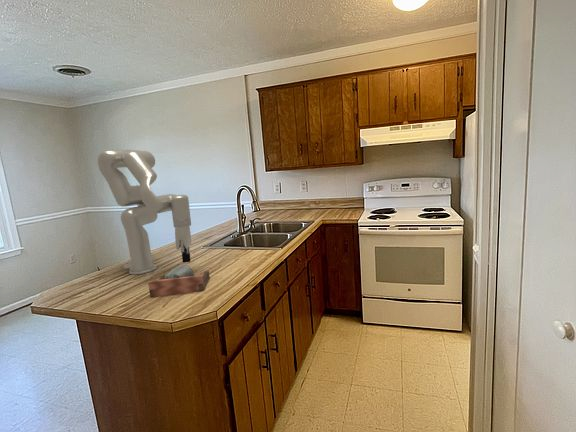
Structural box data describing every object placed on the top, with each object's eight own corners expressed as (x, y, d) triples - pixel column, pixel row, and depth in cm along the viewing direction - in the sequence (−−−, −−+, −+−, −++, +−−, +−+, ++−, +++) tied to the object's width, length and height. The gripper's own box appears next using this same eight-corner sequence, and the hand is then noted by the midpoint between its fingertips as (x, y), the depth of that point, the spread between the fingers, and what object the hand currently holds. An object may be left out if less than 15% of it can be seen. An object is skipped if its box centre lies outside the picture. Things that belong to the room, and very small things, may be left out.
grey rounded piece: (180, 286, 120) (171, 262, 123) (163, 296, 123) (155, 273, 126) (203, 281, 133) (195, 260, 135) (187, 290, 136) (179, 269, 138)
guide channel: (150, 297, 121) (147, 282, 120) (162, 282, 136) (160, 269, 135) (203, 290, 122) (201, 276, 121) (209, 277, 137) (207, 264, 136)
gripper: (178, 220, 148) (182, 257, 151) (168, 226, 133) (173, 267, 136) (194, 219, 148) (198, 256, 152) (186, 225, 134) (191, 266, 137)
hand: (186, 261), depth 144 cm, fingers closed
